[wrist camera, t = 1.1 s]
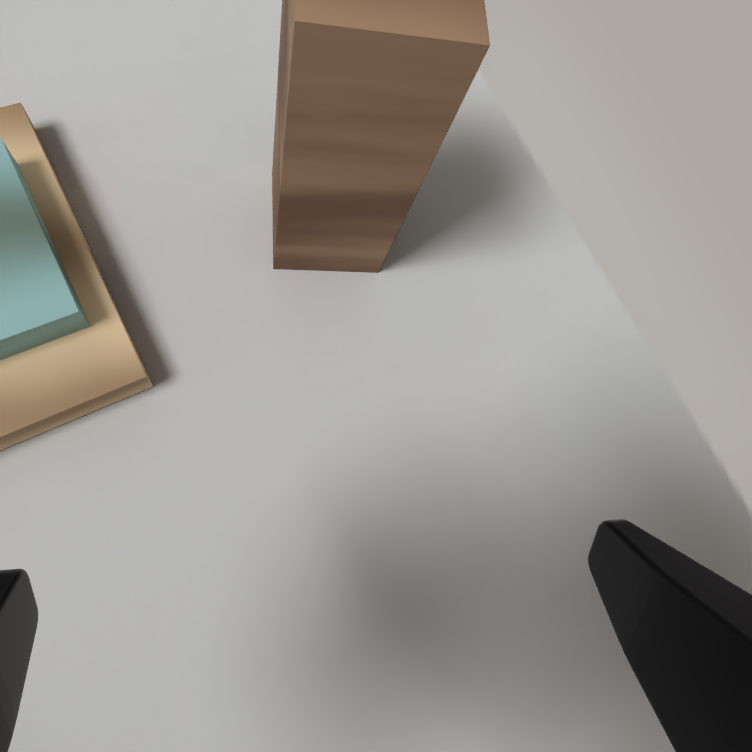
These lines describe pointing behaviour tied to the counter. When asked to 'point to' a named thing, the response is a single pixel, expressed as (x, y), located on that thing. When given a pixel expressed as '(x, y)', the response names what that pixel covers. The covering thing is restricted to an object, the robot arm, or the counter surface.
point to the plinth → (76, 357)
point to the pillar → (363, 120)
